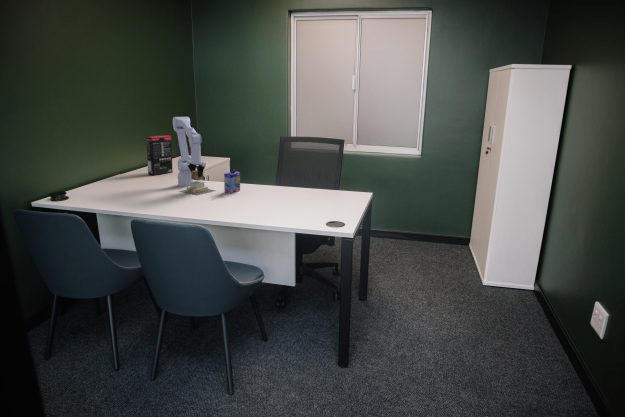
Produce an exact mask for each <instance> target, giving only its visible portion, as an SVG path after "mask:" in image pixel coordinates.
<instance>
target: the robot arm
mask: <svg viewBox="0 0 625 417" xmlns="http://www.w3.org/2000/svg"><path fill="white" fill-rule="evenodd" d="M172 126H173V131H174V132H176V135H177V140H178V146H179V151H180V152H179V153H180V158H179V159H178V160H177V170H178V174H177V186H180V187H184V188H187V187H190V182H194V180H192V179H191V171H195V170H197V172H198V178H200V177H202V173H203V174H204V170H205V168H206V166H207V163H206V162H203V161H202V153H201V152H202V151H201V144H202V142H203V138H202V137H203V136H202V135H201V133H198V132H197V131H196V130H195V128H194V127H191V119H190V117H189V116H174V117H173V118H172ZM186 136H187V137H188V143H189V148H190V155H189V148H188V143H187V137H186Z"/></svg>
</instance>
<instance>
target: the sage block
mask: <svg viewBox="0 0 625 417" xmlns="http://www.w3.org/2000/svg"><path fill="white" fill-rule="evenodd" d="M204 186H205V182H204V181H202V180H193V182H190V187H191V188H196V189H198V188H202V187H204Z"/></svg>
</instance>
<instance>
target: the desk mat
mask: <svg viewBox="0 0 625 417" xmlns="http://www.w3.org/2000/svg"><path fill="white" fill-rule="evenodd" d="M178 192H179V193H184V194H187V195H192V196H201V195H204V194H209V193H212V192H216V190H215V189H211V188H208V191H205V192H201V193H192V192H188V191H187V189H184V190H183V189H182V190H179V191H178Z"/></svg>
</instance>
